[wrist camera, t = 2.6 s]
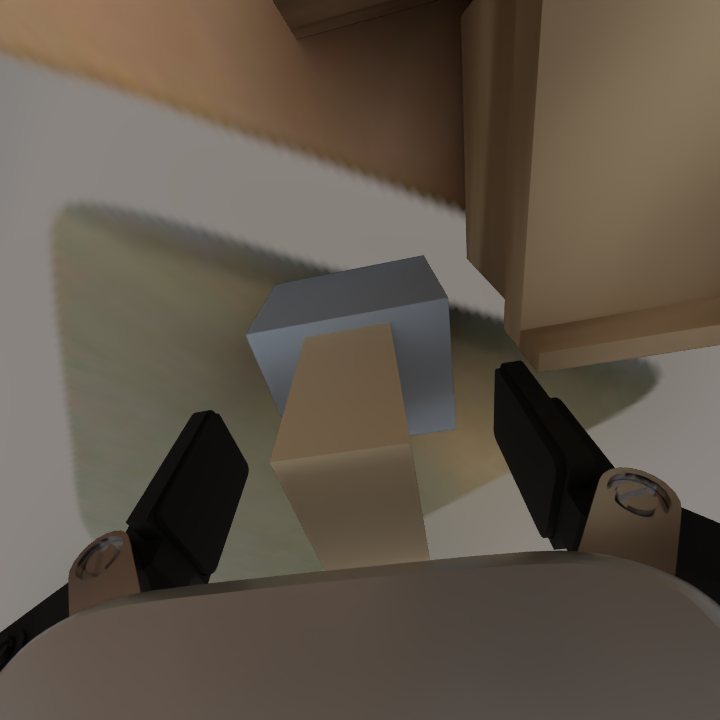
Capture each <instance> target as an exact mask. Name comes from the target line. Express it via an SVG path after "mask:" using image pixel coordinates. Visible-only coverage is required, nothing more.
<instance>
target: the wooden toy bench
mask: <svg viewBox="0 0 720 720" xmlns="http://www.w3.org/2000/svg"><path fill="white" fill-rule="evenodd" d="M273 1H274V3H275V5H276V6H277V8H278V10H279V11H280V13H281V15H282V16H283V18H284V20H285V21H286V23H287V25H288V26H289V28H290V29H291V31H292V33H293V34H294V36H295V38H296V39H299V38H303V37H307V36H310V35H314V34H318V33H321V32H325V31H328V30H332V29H336V28H339V27H343V26H347V25H350V24H354V23H358V22H361V21H365V20H368V19H372V18H376V17H379V16H383V15H387V14H390V13H394V12H398V11H401V10H405V9H408V8H412V7H416V6H419V5H423V4H427V3H430V2H434V1H438V0H273ZM461 48H462V87H463V126H464V164H465V203H466V242H467V259H468V260H469V261H470V262H471V263H472V264H473V266H474V267H475V268H476V269H477V270H478V271H479V272H480V273H481V274H482V275H483V276H484V277H485V278H486V279H487V280H488V281H489V283H491V285H492V286H493V287H494V288H495V289H496V290H497V291H498V292H499V293H500V294H501V295H502V296H503V298H504V299H505V313H504V330H505V331H506V333H507V334H508V335H509V337H510V338H511V339H512V340H513V342H514V343H515V344H516V346H517V347H518V348H519V349H520V351H521V352H522V353H523V355H524V356H525V357H526V358H527V360H528V361H529V362H530V364H531V365H532V366H533V367H534V369H535V370H536V371H537V373H541V372H548V371H554V370H561V369H567V368H574V367H580V366H587V365H593V364H600V363H606V362H613V361H619V360H625V359H632V358H638V357H645V356H651V355H658V354H664V353H670V352H677V351H684V350H690V349H697V348H703V347H710V346H716V345H720V0H473V1H472V2H471V3H470V5H469V6H468V7H467V8H466V10H465V11H464V12H463V14H462V15H461Z"/></svg>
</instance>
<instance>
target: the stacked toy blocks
mask: <svg viewBox="0 0 720 720" xmlns="http://www.w3.org/2000/svg"><path fill="white" fill-rule="evenodd" d="M246 337H247V339H248V342H249V344H250V346H251V349H252V351H253V353H254V355H255V358H256V360H257V362H258V365H259V367H260V369H261V372H262V374H263V376H264V378H265V381H266V383H267V385H268V388H269V390H270V392H271V395H272V397H273V399H274V402H275V404H276V406H277V408H278V411H279V413H280V415H281V418H282V420H281V424H280V428H279V431H278V435H277V438H276V442H275V445H274V449H273V452H272V456H271V460H270V464H271V466H272V468H273V470H274V472H275V474H276V476H277V478H278V480H279V482H280V484H281V486H282V488H283V490H284V492H285V494H286V496H287V498H288V500H289V502H290V503H291V505H292V507H293V509H294V511H295V513H296V515H297V517H298V519H299V521H300V523H301V525H302V527H303V529H304V531H305V533H306V535H307V537H308V539H309V541H310V543H311V545H312V547H313V549H314V551H315V553H316V555H317V557H318V559H319V560H320V562H321V564H322V566H323V568H324V570H325V571H330V570H339V569H349V568H359V567H368V566H378V565H388V564H398V563H408V562H418V561H429V560H430V557H429V551H428V545H427V540H426V533H425V526H424V520H423V514H422V508H421V502H420V496H419V490H418V484H417V478H416V472H415V466H414V460H413V454H412V447H411V441H410V436H411V435H418V434H426V433H433V432H440V431H447V430H454V429H456V421H455V404H454V387H453V370H452V354H451V337H450V320H449V303H448V297H447V295H446V293H445V291H444V290H443V288H442V286H441V285H440V283H439V281H438V279H437V278H436V276H435V274H434V273H433V271H432V269H431V267H430V266H429V264H428V262H427V261H426V259H425V257H424V255H422V256H417V257H412V258H407V259H402V260H397V261H392V262H387V263H382V264H376V265H371V266H366V267H361V268H356V269H351V270H346V271H342V272H337V273H332V274H327V275H322V276H317V277H312V278H307V279H301V280H296V281H291V282H286V283H281V284H276V285H275V286H274V288H273V289H272V291H271V293H270V295H269V296H268V298H267V300H266V301H265V303H264V305H263V306H262V308H261V310H260V311H259V313H258V315H257V316H256V318H255V320H254V321H253V323H252V325H251V326H250V328H249V330H248V331H247V333H246Z"/></svg>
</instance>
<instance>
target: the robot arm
mask: <svg viewBox="0 0 720 720" xmlns="http://www.w3.org/2000/svg"><path fill="white" fill-rule="evenodd" d="M494 435H495V438H496V441H497V443H498V445H499V447H500V450H501V452H502V454H503V456H504V458H505V460H506V463H507V465H508V467H509V469H510V471H511V473H512V475H513V478H514V480H515V482H516V484H517V486H518V488H519V490H520V493H521V495H522V497H523V499H524V501H525V503H526V505H527V508H528V510H529V512H530V514H531V516H532V518H533V521H534V523H535V525H536V527H537V529H538V531H539V533H540V535H541V536H542V537H543V538H549V540H550V542H551V544H552V546H553V549H554V550H556V549H567V551H538V552H537V551H535V552H519V553H507V554H494V555H483V556H470V557H459V558H450V559H439V560H429V561H418V562H408V563H398V564H388V565H378V566H368V567H359V568H349V569H339V570H330V571H320V572H311V573H301V574H291V575H282V576H273V577H264V578H255V579H245V580H236V581H227V582H218V583H209V584H208V581H209V578H210V576H211V574H212V573H214V572H215V570H216V568H217V566H218V563H219V560H220V557H221V554H222V551H223V548H224V545H225V542H226V539H227V536H228V533H229V530H230V527H231V524H232V521H233V518H234V515H235V512H236V509H237V506H238V503H239V500H240V497H241V494H242V491H243V488H244V485H245V482H246V479H247V476H248V472H249V468H248V464H247V462H246V460H245V459H244V457H243V455H242V453H241V452H240V450H239V448H238V446H237V444H236V443H235V441H234V439H233V437H232V436H231V434H230V432H229V430H228V429H227V427H226V425H225V423H224V421H223V420H222V418H221V416H220V415H219V414H216V413H215V412H214V411H212V410H208V411H202V412H196V413H194V414H193V415H192V416H191V418H190V419H189V421H188V422H187V424H186V426H185V427H184V429H183V431H182V432H181V434H180V435H179V437H178V439H177V440H176V442H175V443H174V445H173V447H172V448H171V450H170V452H169V453H168V455H167V456H166V458H165V460H164V461H163V463H162V465H161V466H160V468H159V469H158V471H157V473H156V474H155V476H154V478H153V479H152V481H151V482H150V484H149V486H148V487H147V489H146V491H145V492H144V494H143V495H142V497H141V499H140V500H139V502H138V503H137V505H136V507H135V508H134V510H133V512H132V513H131V515H130V516H129V518H128V520H127V521H126V523H127V524H128V525H129V527H128V529H127V531H126V532H124V531H122V530H119V531H112V532H109V533H106V534H104V535H102V536H101V537H99V538H97V539H96V540H94V541H93V542H92V543H91V544H89V545H88V546H87V547H86V548H85V549H84V550H83V551H82V552H81V553H80V554H79V556H78V557H77V558H76V560H75V561H74V563H73V565H72V567H71V569H70V571H69V578H68V583H67V584H66V585H64V586H63V587H62V588H60V589H59V590H57V591H56V592H55V593H53V594H52V595H51V596H49V597H48V598H46V599H45V600H44V601H42V602H41V603H40V604H38V605H37V606H36V607H34V608H33V609H32V610H30V611H29V612H27V613H26V614H25V615H23V616H22V617H21V618H19V619H18V620H17V621H15V622H14V623H13V624H11V625H10V626H8V627H7V628H6V629H4V630H3V631H2V632H0V720H720V523H718V522H715V521H713V520H711V519H708V518H706V517H703V516H701V515H698V514H696V513H694V512H691V511H689V510H687V509H684V508H682V507H681V503H680V500H679V499H678V497H677V495H676V493H675V492H674V491H673V490H672V489H671V488H670V487H669V486H668V485H667V484H666V483H665V482H663V481H662V480H660V479H658V478H657V477H655V476H653V475H651V474H649V473H646V472H644V471H641V470H637V469H633V468H614V466H613V465H612V464H611V463H610V461H609V460H608V459H607V457H606V456H605V455H604V454H603V453H602V451H601V450H600V449H599V447H598V446H597V445H596V444H595V442H594V441H593V440H592V439H591V437H590V436H589V435H588V434H587V432H586V431H585V430H584V428H583V427H582V426H581V425H580V423H579V422H578V421H577V420H576V418H575V417H574V416H573V415H572V413H571V412H570V411H569V410H568V408H567V407H566V406H565V404H564V403H563V402H562V401H561V400H560V399H558V398H550V397H549V396H548V395H547V393H546V392H545V391H544V389H543V388H542V387H541V385H540V384H539V383H538V381H537V380H536V379H535V378H534V376H533V375H532V374H531V372H530V371H529V370H528V368H527V367H526V366H525V364H524V363H523V362H522V361H514V362H507V363H502V364H501V367H500V368H499V369H496V370H495V394H494Z"/></svg>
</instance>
